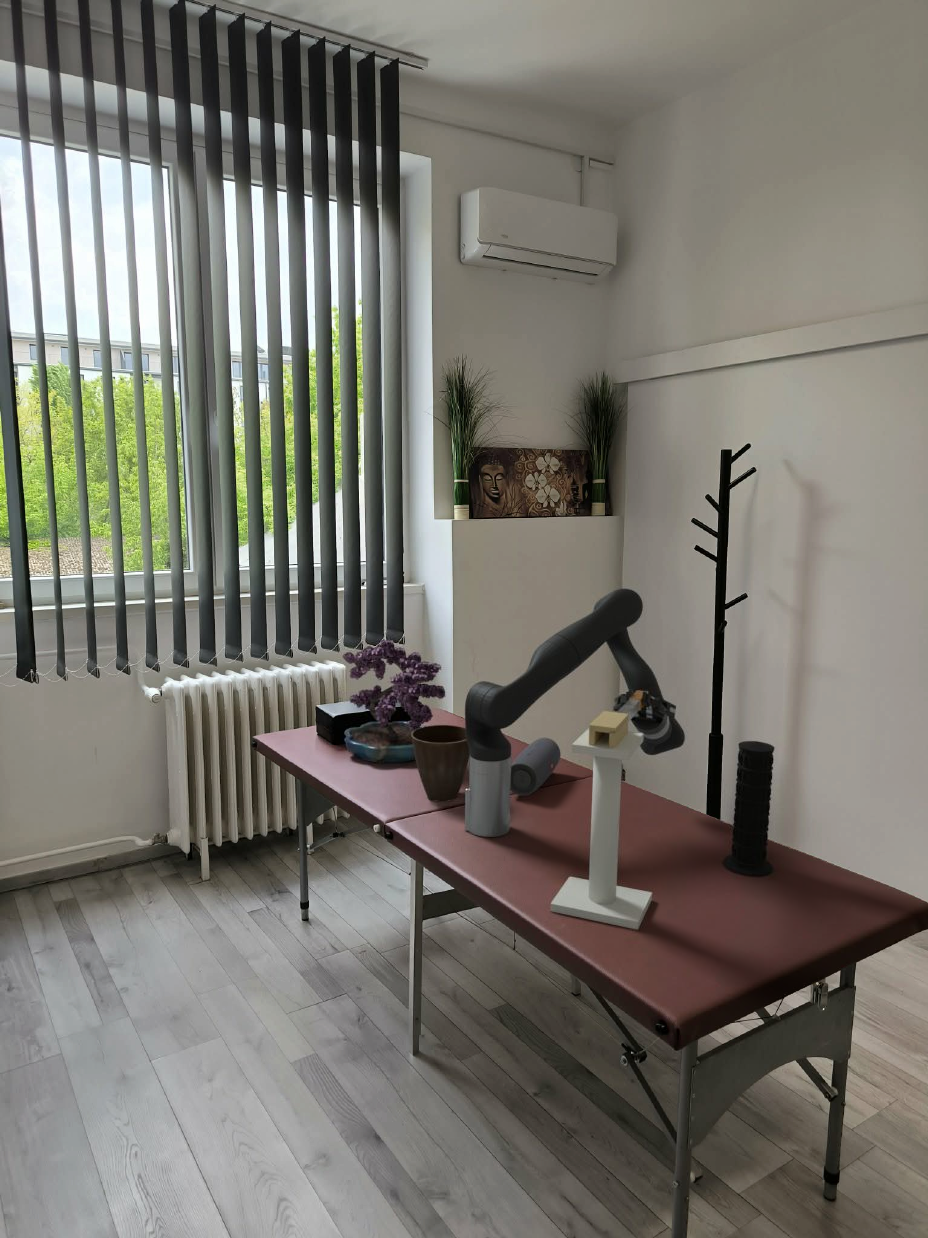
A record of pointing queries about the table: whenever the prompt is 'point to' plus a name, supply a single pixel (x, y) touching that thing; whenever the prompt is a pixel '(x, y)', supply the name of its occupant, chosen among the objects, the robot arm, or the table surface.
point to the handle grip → (752, 810)
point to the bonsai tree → (391, 703)
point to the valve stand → (605, 830)
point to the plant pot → (441, 759)
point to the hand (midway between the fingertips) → (636, 695)
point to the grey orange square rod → (633, 704)
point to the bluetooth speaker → (534, 766)
